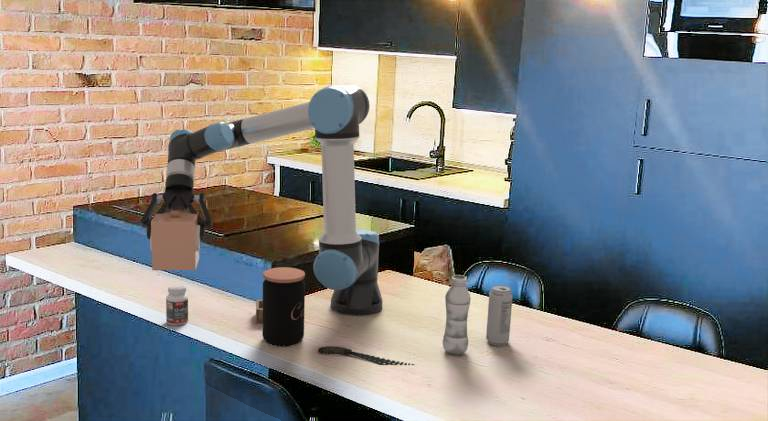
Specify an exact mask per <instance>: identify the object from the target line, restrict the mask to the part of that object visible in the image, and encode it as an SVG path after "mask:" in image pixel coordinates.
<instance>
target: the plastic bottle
mask: <svg viewBox="0 0 768 421" xmlns="http://www.w3.org/2000/svg"><path fill="white" fill-rule="evenodd" d="M467 280H468V279H467V277H466V276H465V275H462V274H455V275H452V276H451V282H450V285H451V286H450V288H448V290H447V291H446V293H445V296H444V297H445V299H444V300H445V313H446V314H445V316H446V318H445V319H446V320H445V321H446V322H445V329H444V333H443V337H442V348H443V349H444V351H445V352H446V353H447V354H450V355H455V356H456V355H463V354H466V352H467V350H468V347H469V337H468V336H469V335H468V318H469V317H468V315H469V309H470V305H471V299H472V298H471V293H470V291H469V290H468V288H467V287H466V286H467V284H468V283H467Z"/></svg>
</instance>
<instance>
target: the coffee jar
mask: <svg viewBox="0 0 768 421" xmlns="http://www.w3.org/2000/svg"><path fill="white" fill-rule="evenodd" d="M262 276H263V279H264V280H263V282H262V300H263V323H262V331H261V332H262V337H263V340H264V342H265V343H266V344H268V345H270V346H274V347H290V346H291V347H292V346H296V345H298V344H299V343H301V341H302V339H304V336H305V302H306V301H305V297H306V296H305V294H306V290H305V289H306V283H305V280H304V279H305V277H306V273H305V271H304V270H302V269H299V268H295V267H288V266H287V267H283V266H282V267H279V266H278V267H273V268H269V269H268V268H267V269H266V270H264V271H263V272H262Z"/></svg>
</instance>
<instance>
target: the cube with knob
mask: <svg viewBox="0 0 768 421" xmlns="http://www.w3.org/2000/svg"><path fill="white" fill-rule="evenodd" d="M196 212H197V213H198V214H199V211H196ZM156 213H157V211H156V212H155V214H154V215H155V216H154V215H153V216H154V217H153V216H152V217H153V219H152V221H151V242H152V251H151V269H152V271H196V270H197V267H198V264H199V260H200V251H196V236H197V225H198V221H197V220H198V214H192V213H190V212H188V211H181V210H172V209H171V210H170V211H169V212H164V213H162V214H156ZM199 215H200V214H199Z"/></svg>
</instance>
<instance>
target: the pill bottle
mask: <svg viewBox="0 0 768 421" xmlns="http://www.w3.org/2000/svg"><path fill="white" fill-rule="evenodd" d="M167 293H168V294H167V296H166V298H165V302H166V303H165V309H166V320H165V322H166V323H167V324H168V325H171V326H183V325H186V324H187V323H188V322H189V296H188V295H187V286H186V285H183V284H173V285H169V286H168V289H167Z"/></svg>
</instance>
